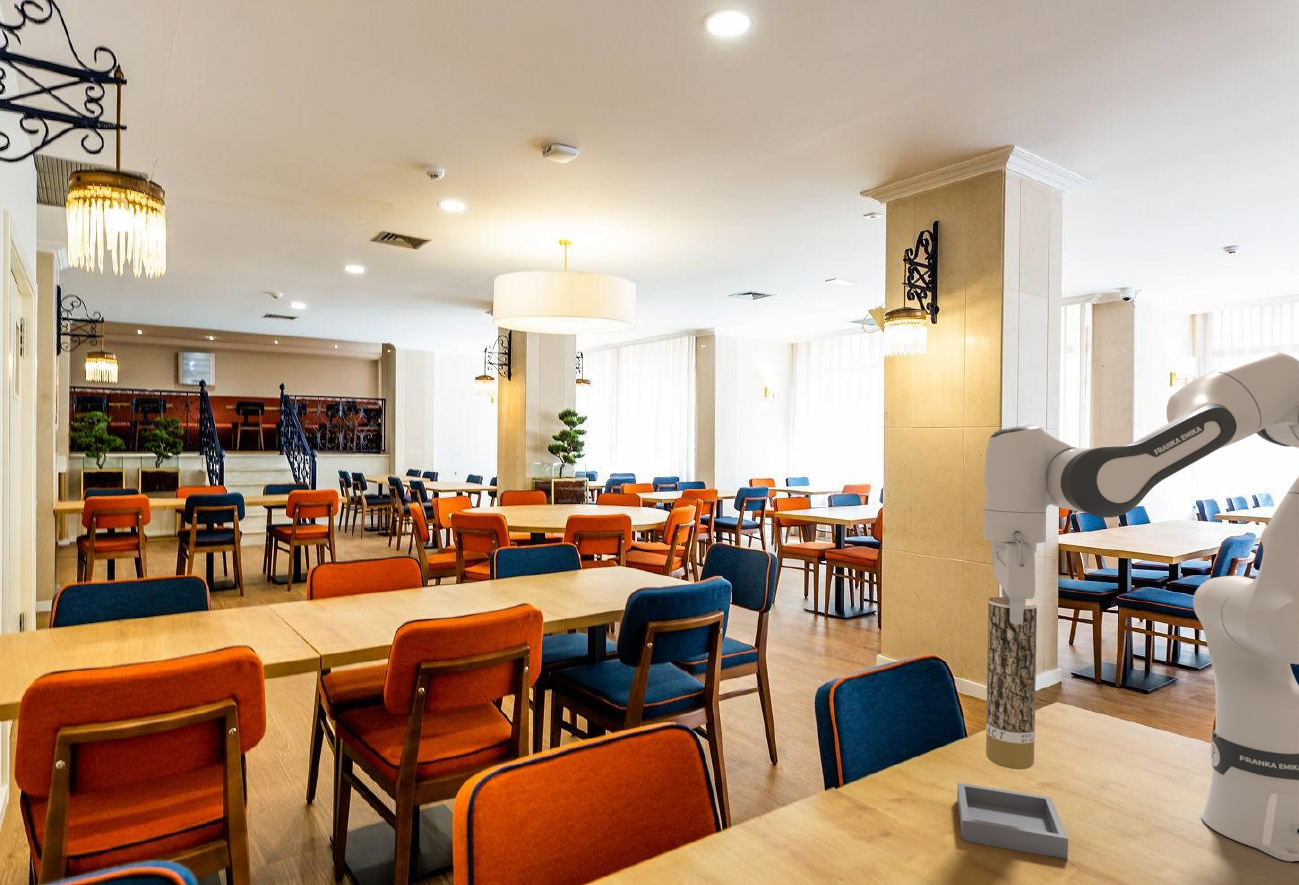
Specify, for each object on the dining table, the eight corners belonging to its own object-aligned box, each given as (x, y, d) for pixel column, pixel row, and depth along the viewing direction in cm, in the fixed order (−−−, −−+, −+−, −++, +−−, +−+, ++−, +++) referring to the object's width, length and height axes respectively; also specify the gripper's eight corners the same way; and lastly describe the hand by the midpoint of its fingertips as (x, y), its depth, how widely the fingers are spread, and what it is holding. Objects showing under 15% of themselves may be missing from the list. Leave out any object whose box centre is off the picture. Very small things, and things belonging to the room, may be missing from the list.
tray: (1050, 816, 121) (1051, 797, 121) (1067, 859, 108) (1067, 838, 108) (957, 800, 126) (957, 782, 126) (962, 840, 112) (962, 820, 113)
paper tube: (1023, 754, 120) (1026, 598, 120) (1041, 772, 113) (1044, 606, 114) (979, 752, 121) (982, 596, 121) (995, 769, 114) (997, 604, 114)
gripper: (1047, 536, 107) (1046, 634, 106) (1027, 525, 126) (1025, 607, 126) (999, 534, 109) (997, 630, 109) (986, 522, 128) (984, 604, 128)
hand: (1012, 617), depth 117 cm, fingers closed on paper tube, 7 cm apart
